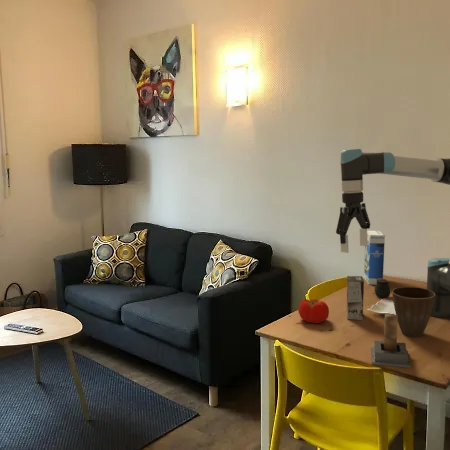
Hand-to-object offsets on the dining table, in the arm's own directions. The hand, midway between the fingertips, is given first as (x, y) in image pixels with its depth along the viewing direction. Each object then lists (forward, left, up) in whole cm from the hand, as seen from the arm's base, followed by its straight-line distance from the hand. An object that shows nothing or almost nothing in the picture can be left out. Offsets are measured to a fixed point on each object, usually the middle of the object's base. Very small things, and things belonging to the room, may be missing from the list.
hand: (354, 249), depth 183 cm
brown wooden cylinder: (-12, +22, -31) cm, 40 cm away
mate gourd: (-12, -48, -32) cm, 59 cm away
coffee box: (0, -18, -32) cm, 37 cm away
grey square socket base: (-13, +22, -32) cm, 41 cm away
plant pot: (-22, -3, -32) cm, 39 cm away
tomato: (+16, -9, -33) cm, 37 cm away
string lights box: (-9, -75, -32) cm, 82 cm away
